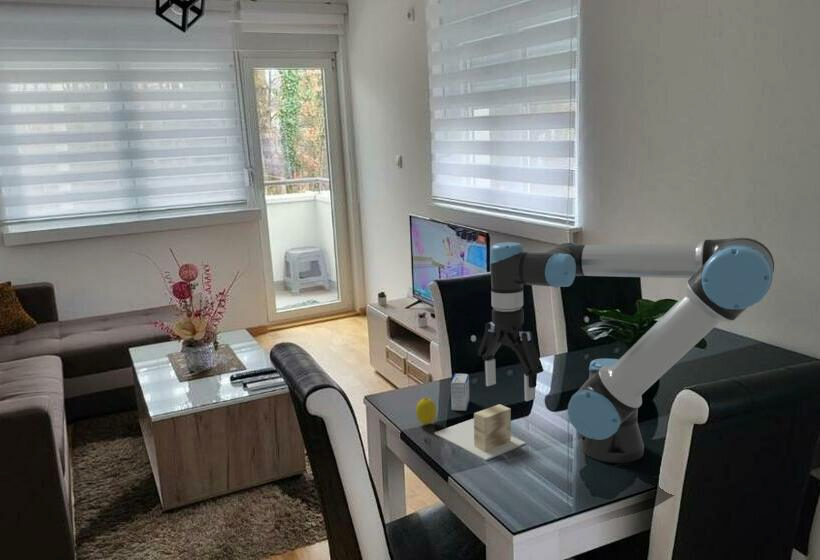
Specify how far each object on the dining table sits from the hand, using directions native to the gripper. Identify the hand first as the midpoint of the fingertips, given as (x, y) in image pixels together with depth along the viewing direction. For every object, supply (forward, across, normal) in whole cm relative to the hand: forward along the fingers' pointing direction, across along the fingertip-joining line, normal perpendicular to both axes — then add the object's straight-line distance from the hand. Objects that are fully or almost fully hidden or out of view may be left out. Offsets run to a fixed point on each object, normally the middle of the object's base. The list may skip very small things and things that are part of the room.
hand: (509, 392), depth 162 cm
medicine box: (+16, +32, -10) cm, 37 cm away
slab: (+16, +6, 0) cm, 17 cm away
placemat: (+16, +11, +1) cm, 20 cm away
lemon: (+16, +27, +6) cm, 32 cm away
